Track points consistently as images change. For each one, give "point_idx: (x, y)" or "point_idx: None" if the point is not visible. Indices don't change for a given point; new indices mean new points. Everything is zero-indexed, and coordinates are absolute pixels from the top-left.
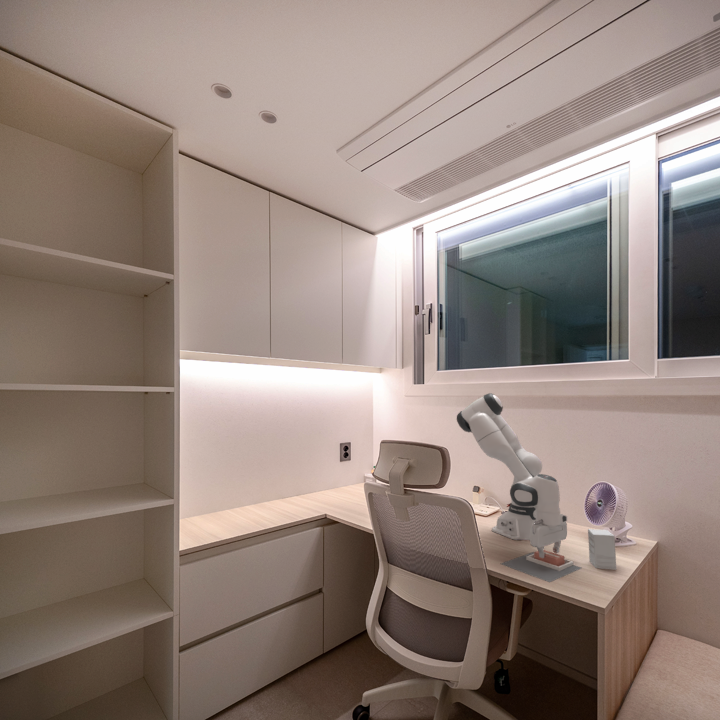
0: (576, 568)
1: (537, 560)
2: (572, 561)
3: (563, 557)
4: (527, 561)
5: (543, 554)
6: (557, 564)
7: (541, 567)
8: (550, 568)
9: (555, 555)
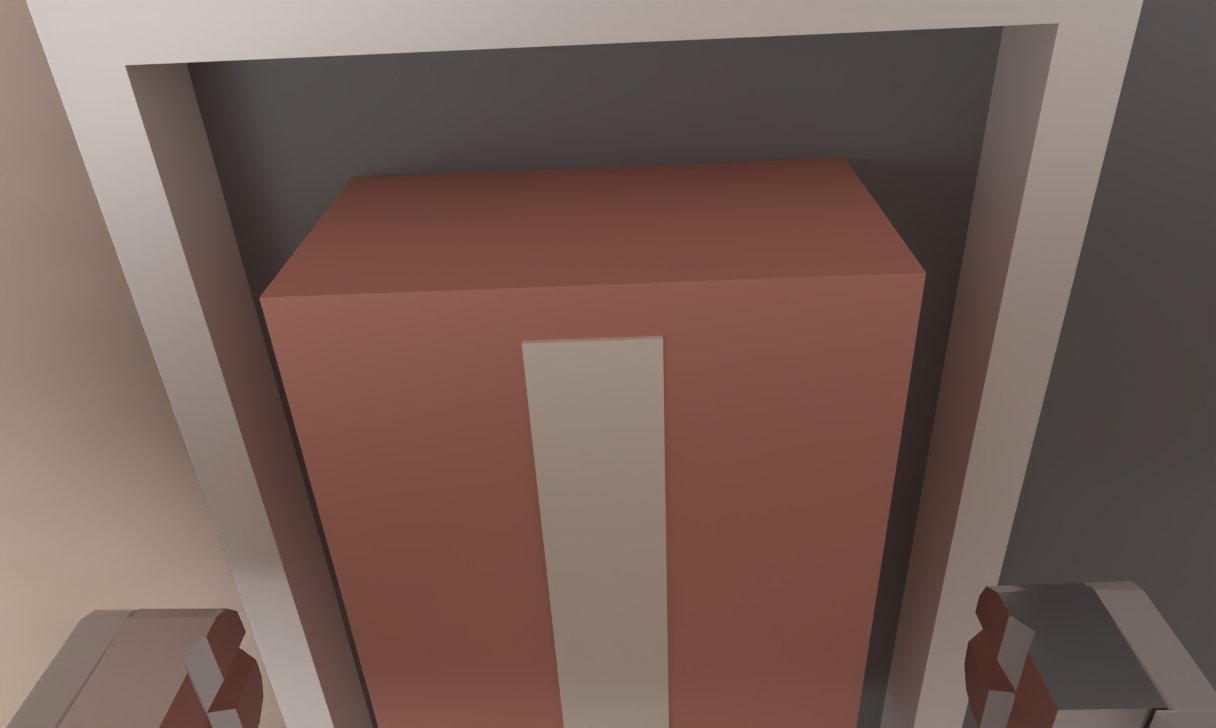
0: None
1: None
2: (37, 29)
3: (340, 279)
4: None
5: (1202, 680)
6: (811, 190)
7: (1174, 396)
8: None
9: (546, 503)
